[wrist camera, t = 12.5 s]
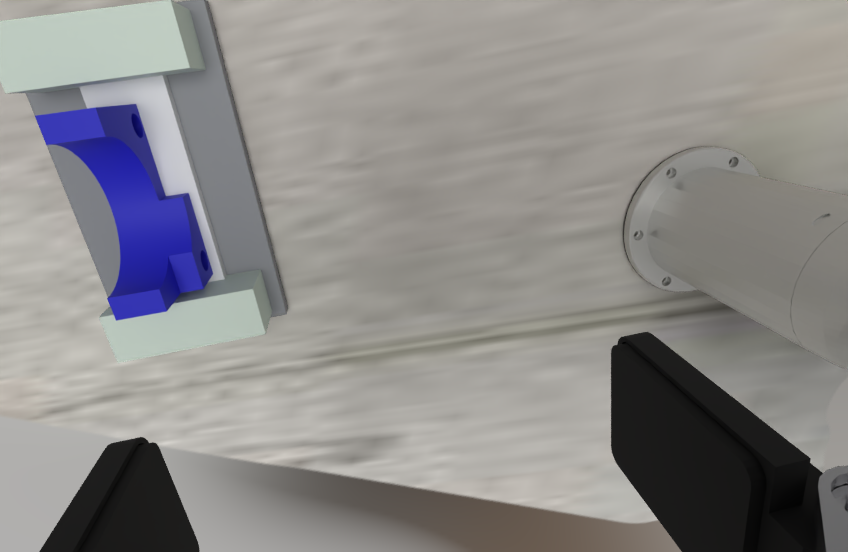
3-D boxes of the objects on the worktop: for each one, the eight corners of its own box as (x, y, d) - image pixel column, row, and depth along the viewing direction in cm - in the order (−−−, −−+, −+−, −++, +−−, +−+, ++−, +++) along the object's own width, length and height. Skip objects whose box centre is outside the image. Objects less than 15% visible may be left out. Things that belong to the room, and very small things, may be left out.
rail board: (207, 1, 33) (186, -13, 28) (287, 307, 41) (281, 337, 36) (9, 26, 31) (-49, 16, 27) (133, 337, 40) (105, 372, 35)
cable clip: (213, 273, 37) (192, 306, 31) (149, 284, 36) (116, 320, 31) (160, 100, 32) (125, 103, 27) (86, 110, 32) (35, 115, 26)
